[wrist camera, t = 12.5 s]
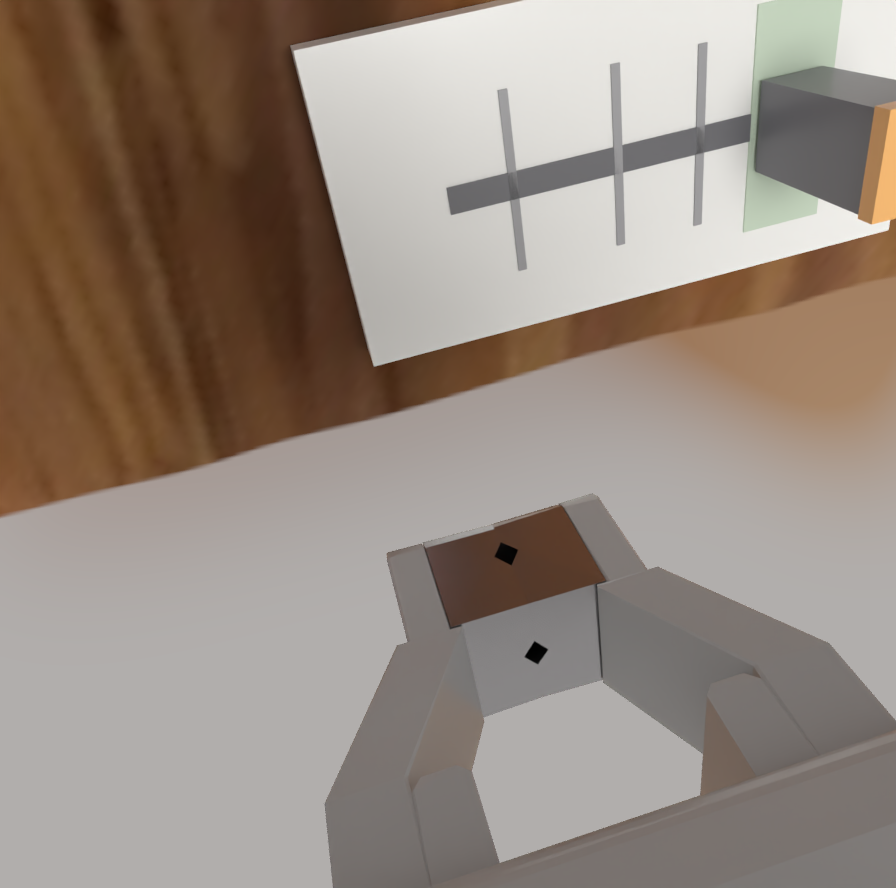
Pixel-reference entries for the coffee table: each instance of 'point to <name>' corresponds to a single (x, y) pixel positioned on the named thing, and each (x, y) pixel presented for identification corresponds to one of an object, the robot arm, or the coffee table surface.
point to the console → (565, 154)
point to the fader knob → (832, 138)
